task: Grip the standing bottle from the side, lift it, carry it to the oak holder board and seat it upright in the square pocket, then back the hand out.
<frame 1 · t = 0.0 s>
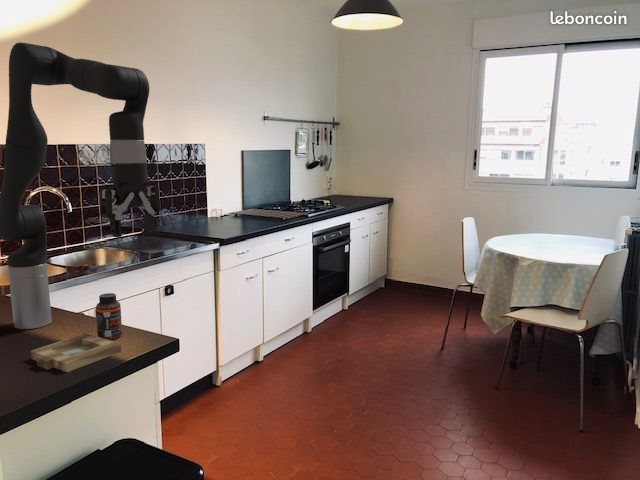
hand: (133, 234, 117), 29 cm above the countertop, tool pointing down, fingers open, 8 cm apart
supplement bottle: (110, 337, 136), on the countertop
holder: (77, 355, 124), on the countertop
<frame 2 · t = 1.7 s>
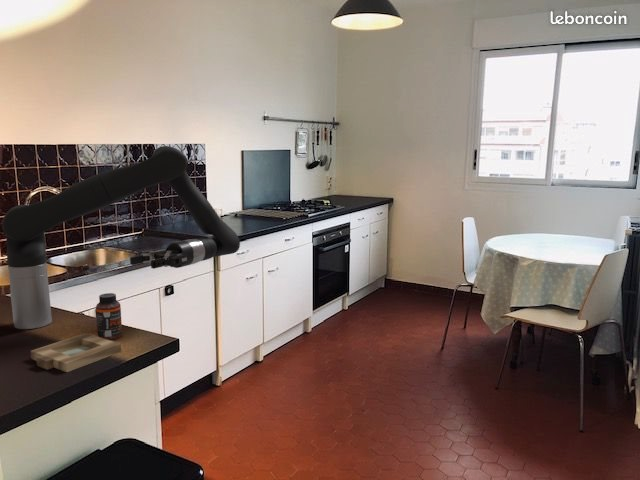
hand: (141, 263, 142), 18 cm above the countertop, tool horizontal, fingers open, 8 cm apart
nothing on the countertop moved.
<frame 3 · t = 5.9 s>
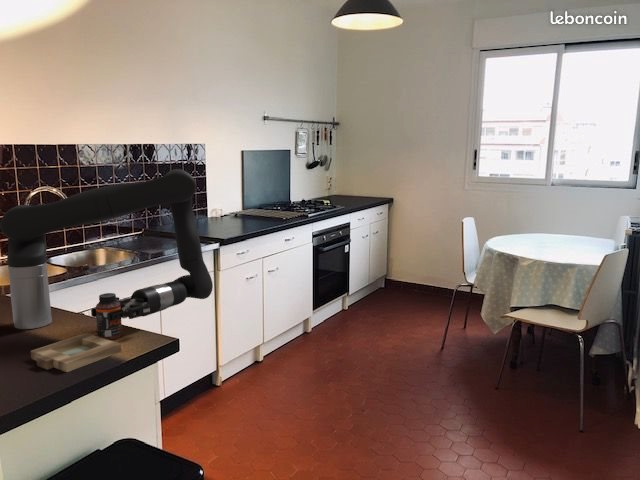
hand: (100, 315, 133), 7 cm above the countertop, tool horizontal, fingers closed on supplement bottle, 6 cm apart
supplement bottle: (110, 337, 136), on the countertop, touching gripper
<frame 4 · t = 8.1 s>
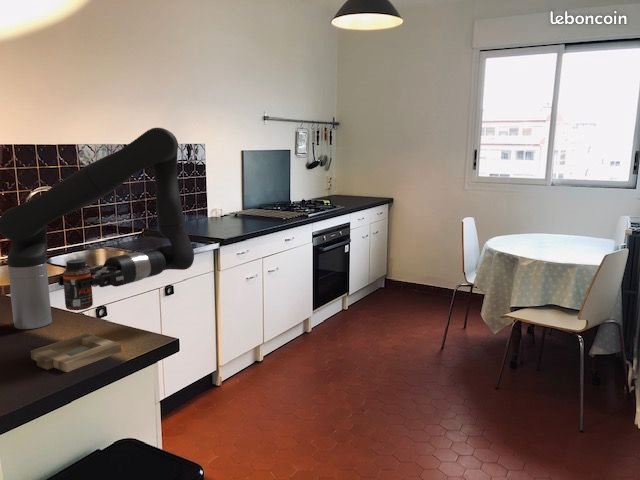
hand: (67, 283, 120), 18 cm above the countertop, tool horizontal, fingers closed on supplement bottle, 6 cm apart
supplement bottle: (79, 308, 124), point 11 cm above the countertop, touching gripper
when the fingers open (7 cm above the countertop, at t = 10.7 s): supplement bottle stays where it is, resting on holder.
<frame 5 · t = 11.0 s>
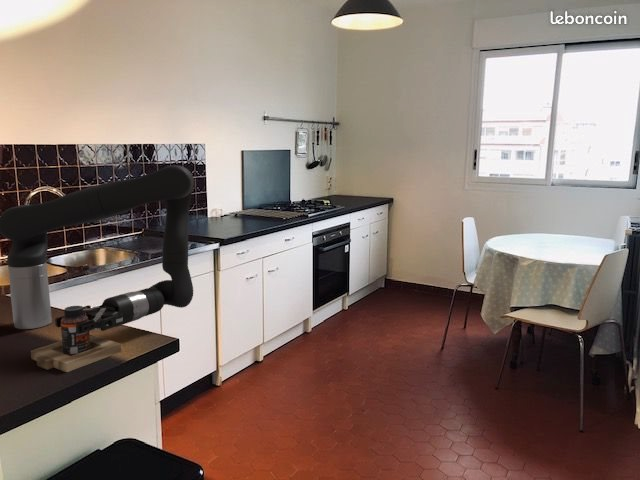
hand: (66, 326, 121), 8 cm above the countertop, tool horizontal, fingers open, 8 cm apart
supplement bottle: (77, 354, 124), resting on holder
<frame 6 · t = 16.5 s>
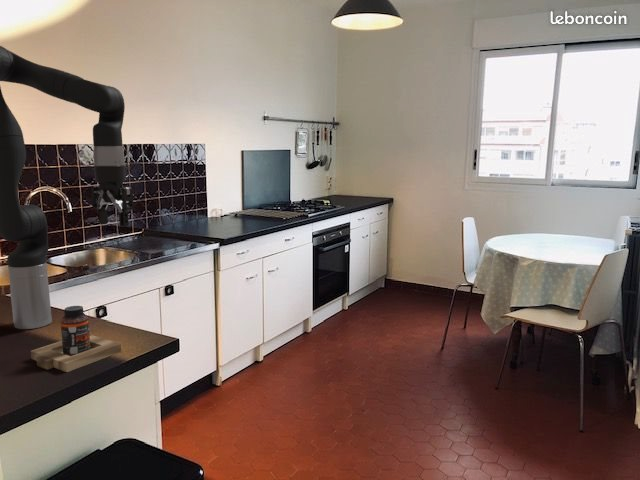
hand: (113, 225, 139), 28 cm above the countertop, tool pointing down, fingers open, 8 cm apart
nothing on the countertop moved.
at the end: supplement bottle 0.1 cm off-centre on the holder, point 0.1 cm above the holder's base; supplement bottle tilted 0°; the gripper is holding nothing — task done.
